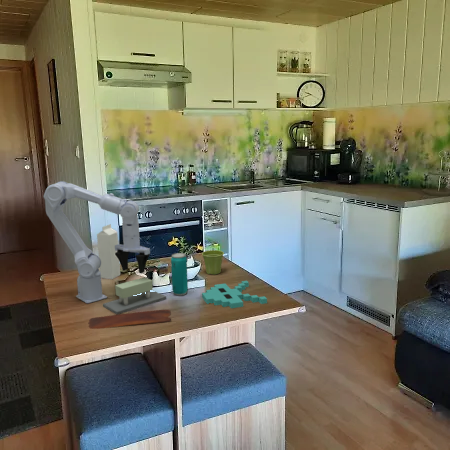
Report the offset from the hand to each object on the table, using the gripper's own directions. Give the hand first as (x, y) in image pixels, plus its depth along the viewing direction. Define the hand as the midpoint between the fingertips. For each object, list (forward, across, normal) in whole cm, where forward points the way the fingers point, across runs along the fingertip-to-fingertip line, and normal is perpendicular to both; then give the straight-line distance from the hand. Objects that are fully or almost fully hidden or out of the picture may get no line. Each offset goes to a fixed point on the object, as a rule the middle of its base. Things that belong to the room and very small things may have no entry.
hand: (133, 271), depth 165 cm
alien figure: (+11, +32, +15) cm, 37 cm away
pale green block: (+6, +4, -5) cm, 8 cm away
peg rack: (+10, +4, -4) cm, 11 cm away
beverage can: (+10, +13, +10) cm, 19 cm away
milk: (+10, -25, +14) cm, 30 cm away
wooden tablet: (+11, +11, -17) cm, 23 cm away
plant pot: (+10, +12, +37) cm, 40 cm away
